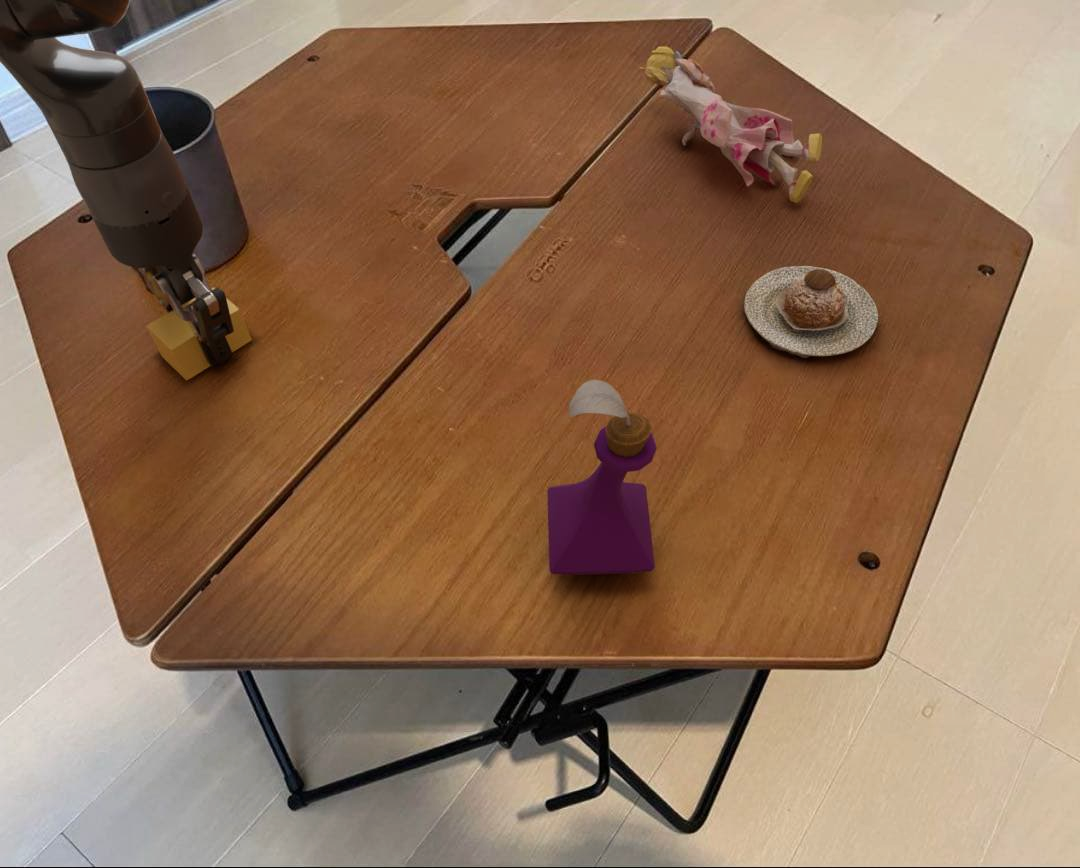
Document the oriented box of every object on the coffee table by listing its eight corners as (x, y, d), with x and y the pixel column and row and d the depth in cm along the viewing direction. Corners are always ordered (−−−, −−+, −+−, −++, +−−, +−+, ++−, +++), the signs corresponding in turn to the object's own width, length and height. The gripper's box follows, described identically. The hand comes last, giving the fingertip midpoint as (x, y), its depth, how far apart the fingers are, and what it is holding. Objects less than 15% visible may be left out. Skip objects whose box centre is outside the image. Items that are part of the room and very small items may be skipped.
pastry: (889, 362, 80) (904, 324, 76) (753, 366, 80) (762, 329, 77) (857, 272, 88) (869, 234, 84) (733, 276, 88) (740, 238, 84)
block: (186, 380, 81) (171, 349, 78) (161, 356, 83) (145, 325, 80) (252, 340, 84) (239, 309, 81) (226, 318, 86) (213, 286, 83)
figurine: (765, 245, 96) (620, 114, 107) (848, 181, 97) (697, 57, 107) (768, 175, 85) (607, 36, 96) (863, 103, 86) (693, -27, 96)
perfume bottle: (643, 508, 71) (659, 348, 57) (652, 592, 66) (672, 440, 52) (548, 511, 71) (541, 352, 57) (550, 595, 67) (543, 444, 53)
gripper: (49, 177, 72) (131, 330, 85) (139, 256, 66) (213, 409, 79) (133, 137, 75) (200, 291, 89) (227, 209, 69) (284, 363, 82)
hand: (206, 346), depth 84 cm, fingers closed on block, 4 cm apart
